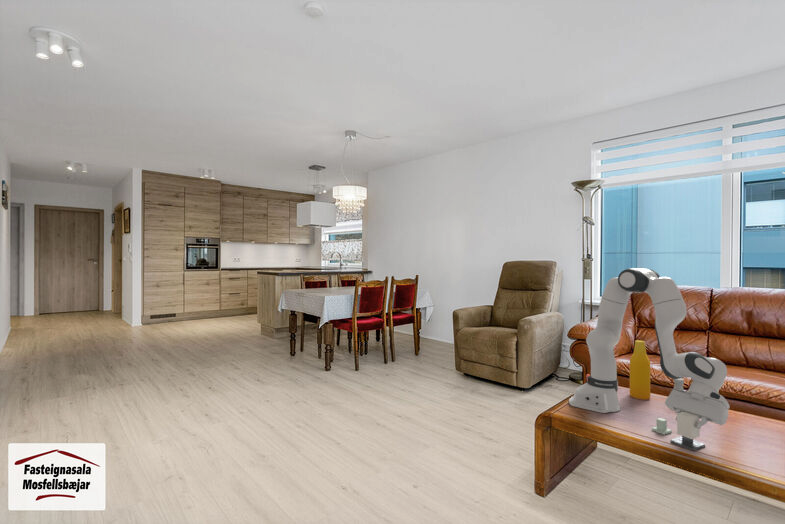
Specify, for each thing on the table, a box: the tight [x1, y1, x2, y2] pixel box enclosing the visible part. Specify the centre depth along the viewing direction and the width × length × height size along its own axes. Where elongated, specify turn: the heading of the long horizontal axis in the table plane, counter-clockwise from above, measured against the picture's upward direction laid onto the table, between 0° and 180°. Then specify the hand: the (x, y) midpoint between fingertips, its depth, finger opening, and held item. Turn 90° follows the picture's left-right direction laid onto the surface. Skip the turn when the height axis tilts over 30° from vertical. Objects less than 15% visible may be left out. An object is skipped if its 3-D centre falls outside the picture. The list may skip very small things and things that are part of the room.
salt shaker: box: [672, 378, 685, 390], centre depth 196 cm, size 6×6×13 cm
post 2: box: [670, 435, 706, 452], centre depth 155 cm, size 8×8×7 cm
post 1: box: [651, 417, 672, 436], centre depth 167 cm, size 5×5×5 cm
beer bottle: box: [629, 339, 651, 401], centre depth 207 cm, size 9×9×29 cm
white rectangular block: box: [676, 411, 701, 440], centre depth 155 cm, size 5×5×8 cm
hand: (687, 424), depth 155 cm, fingers closed on white rectangular block, 5 cm apart
